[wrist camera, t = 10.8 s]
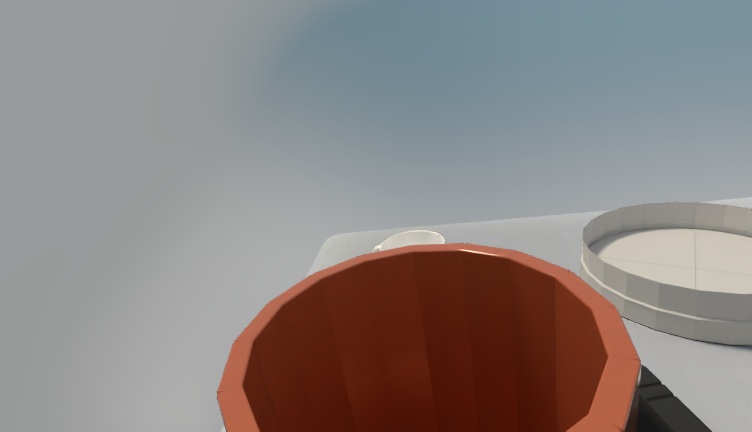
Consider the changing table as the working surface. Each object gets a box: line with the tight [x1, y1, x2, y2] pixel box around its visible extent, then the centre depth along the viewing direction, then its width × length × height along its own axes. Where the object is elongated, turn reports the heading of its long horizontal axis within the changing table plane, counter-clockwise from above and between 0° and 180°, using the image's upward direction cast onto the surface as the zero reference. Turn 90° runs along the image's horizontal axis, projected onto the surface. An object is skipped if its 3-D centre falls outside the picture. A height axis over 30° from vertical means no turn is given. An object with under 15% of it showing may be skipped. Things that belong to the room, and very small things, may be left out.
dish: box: [580, 202, 752, 345], centre depth 45 cm, size 22×22×5 cm
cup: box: [372, 230, 445, 253], centre depth 52 cm, size 8×10×7 cm
